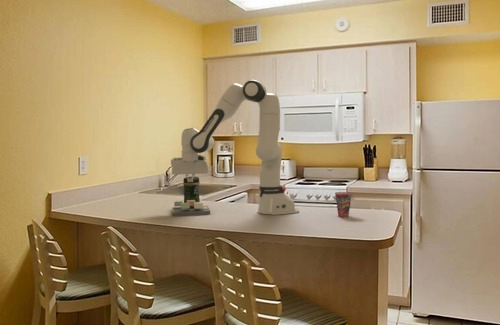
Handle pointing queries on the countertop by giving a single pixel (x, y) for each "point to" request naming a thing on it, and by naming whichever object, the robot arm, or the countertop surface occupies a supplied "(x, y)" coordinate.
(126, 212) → the countertop surface
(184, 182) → the coffee jar
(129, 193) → the countertop surface
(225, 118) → the robot arm
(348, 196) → the cup
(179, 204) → the key
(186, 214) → the keypad board
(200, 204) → the key
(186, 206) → the key
